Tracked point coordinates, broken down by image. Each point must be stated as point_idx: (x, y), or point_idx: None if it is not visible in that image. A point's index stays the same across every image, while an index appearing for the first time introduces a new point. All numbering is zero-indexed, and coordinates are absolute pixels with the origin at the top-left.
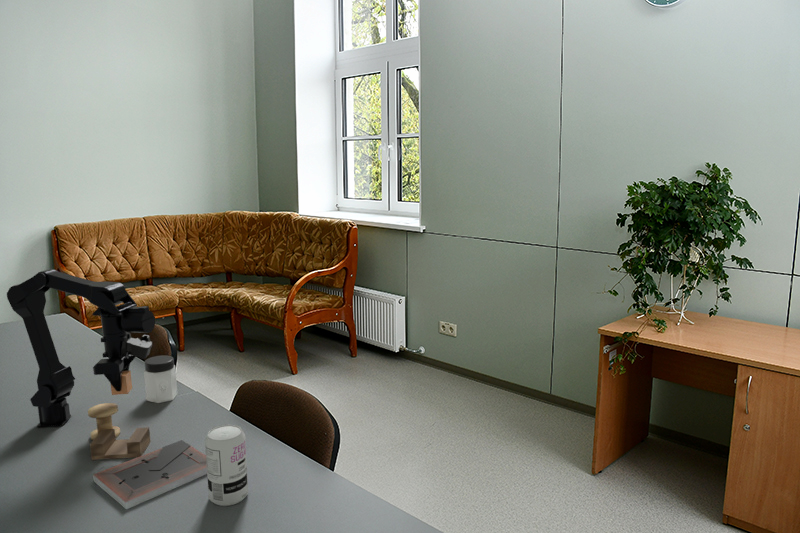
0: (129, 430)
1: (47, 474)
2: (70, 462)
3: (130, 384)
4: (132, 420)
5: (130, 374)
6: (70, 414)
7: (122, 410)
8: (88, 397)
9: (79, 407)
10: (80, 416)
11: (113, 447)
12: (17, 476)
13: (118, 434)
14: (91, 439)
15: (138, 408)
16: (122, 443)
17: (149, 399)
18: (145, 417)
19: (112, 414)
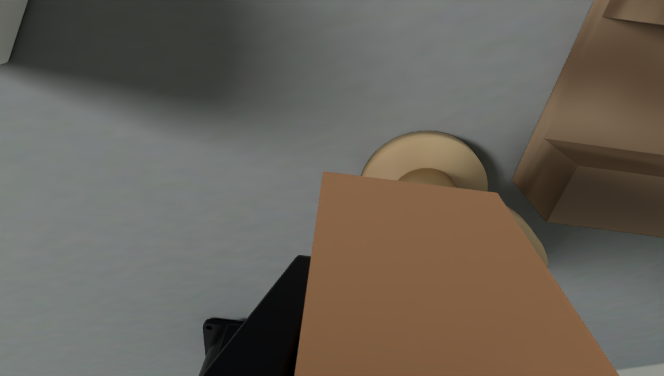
0: (401, 91)
1: (660, 299)
2: (612, 258)
3: (376, 216)
4: (276, 97)
5: (319, 324)
6: (204, 325)
7: (149, 164)
8: (30, 299)
9: (126, 309)
10: (207, 294)
11: (634, 133)
12: (611, 355)
13: (449, 136)
14: None
15: (120, 91)
16: (611, 97)
17: (6, 42)
18: (246, 29)
19: (520, 216)
